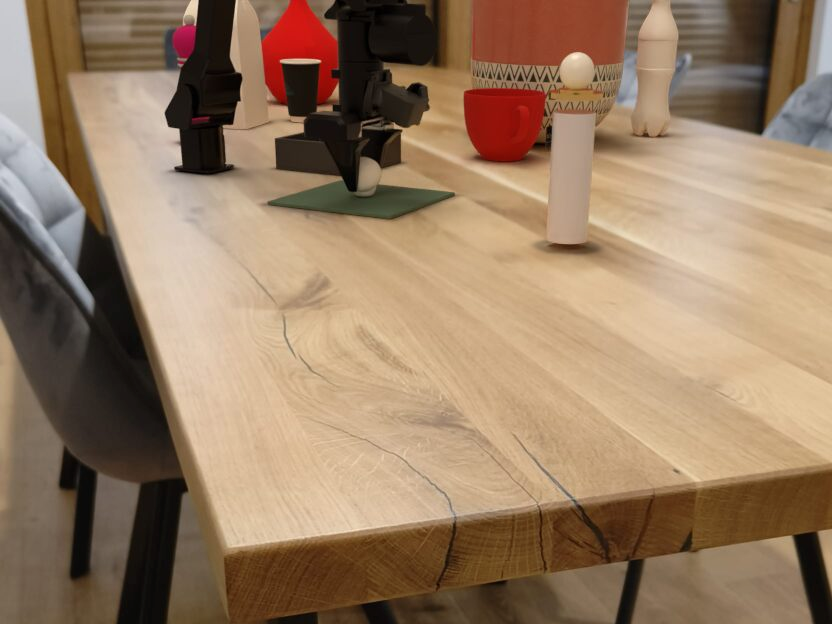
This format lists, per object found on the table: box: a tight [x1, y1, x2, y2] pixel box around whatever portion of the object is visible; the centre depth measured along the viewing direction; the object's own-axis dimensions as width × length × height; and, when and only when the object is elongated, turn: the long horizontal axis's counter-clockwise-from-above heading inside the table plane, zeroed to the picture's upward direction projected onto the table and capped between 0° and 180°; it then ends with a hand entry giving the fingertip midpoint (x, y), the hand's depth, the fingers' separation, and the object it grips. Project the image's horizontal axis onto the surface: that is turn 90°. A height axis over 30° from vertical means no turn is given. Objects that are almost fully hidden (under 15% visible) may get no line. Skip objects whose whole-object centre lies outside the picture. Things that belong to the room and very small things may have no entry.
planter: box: [470, 0, 631, 144], centre depth 191 cm, size 27×27×27 cm
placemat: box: [267, 179, 456, 220], centre depth 146 cm, size 18×18×1 cm
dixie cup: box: [280, 59, 321, 123], centre depth 215 cm, size 8×8×11 cm
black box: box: [274, 131, 402, 176], centre depth 170 cm, size 15×13×4 cm
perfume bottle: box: [544, 52, 603, 245], centre depth 119 cm, size 6×6×20 cm
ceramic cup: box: [463, 88, 546, 162], centre depth 175 cm, size 13×17×10 cm
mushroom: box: [354, 157, 383, 197], centre depth 145 cm, size 5×5×5 cm
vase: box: [261, 0, 338, 105], centre depth 239 cm, size 18×18×30 cm
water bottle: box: [630, 0, 680, 138], centre depth 200 cm, size 7×7×25 cm
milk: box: [182, 0, 270, 130], centre depth 206 cm, size 12×12×26 cm
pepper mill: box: [171, 15, 209, 120], centre depth 186 cm, size 7×7×20 cm
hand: (362, 188), depth 146 cm, fingers closed on mushroom, 5 cm apart
